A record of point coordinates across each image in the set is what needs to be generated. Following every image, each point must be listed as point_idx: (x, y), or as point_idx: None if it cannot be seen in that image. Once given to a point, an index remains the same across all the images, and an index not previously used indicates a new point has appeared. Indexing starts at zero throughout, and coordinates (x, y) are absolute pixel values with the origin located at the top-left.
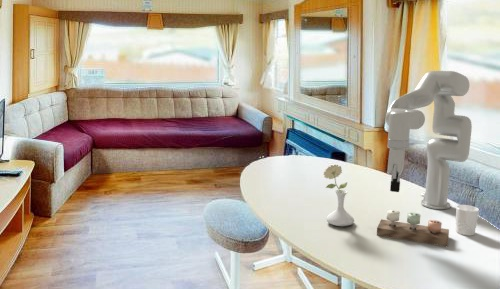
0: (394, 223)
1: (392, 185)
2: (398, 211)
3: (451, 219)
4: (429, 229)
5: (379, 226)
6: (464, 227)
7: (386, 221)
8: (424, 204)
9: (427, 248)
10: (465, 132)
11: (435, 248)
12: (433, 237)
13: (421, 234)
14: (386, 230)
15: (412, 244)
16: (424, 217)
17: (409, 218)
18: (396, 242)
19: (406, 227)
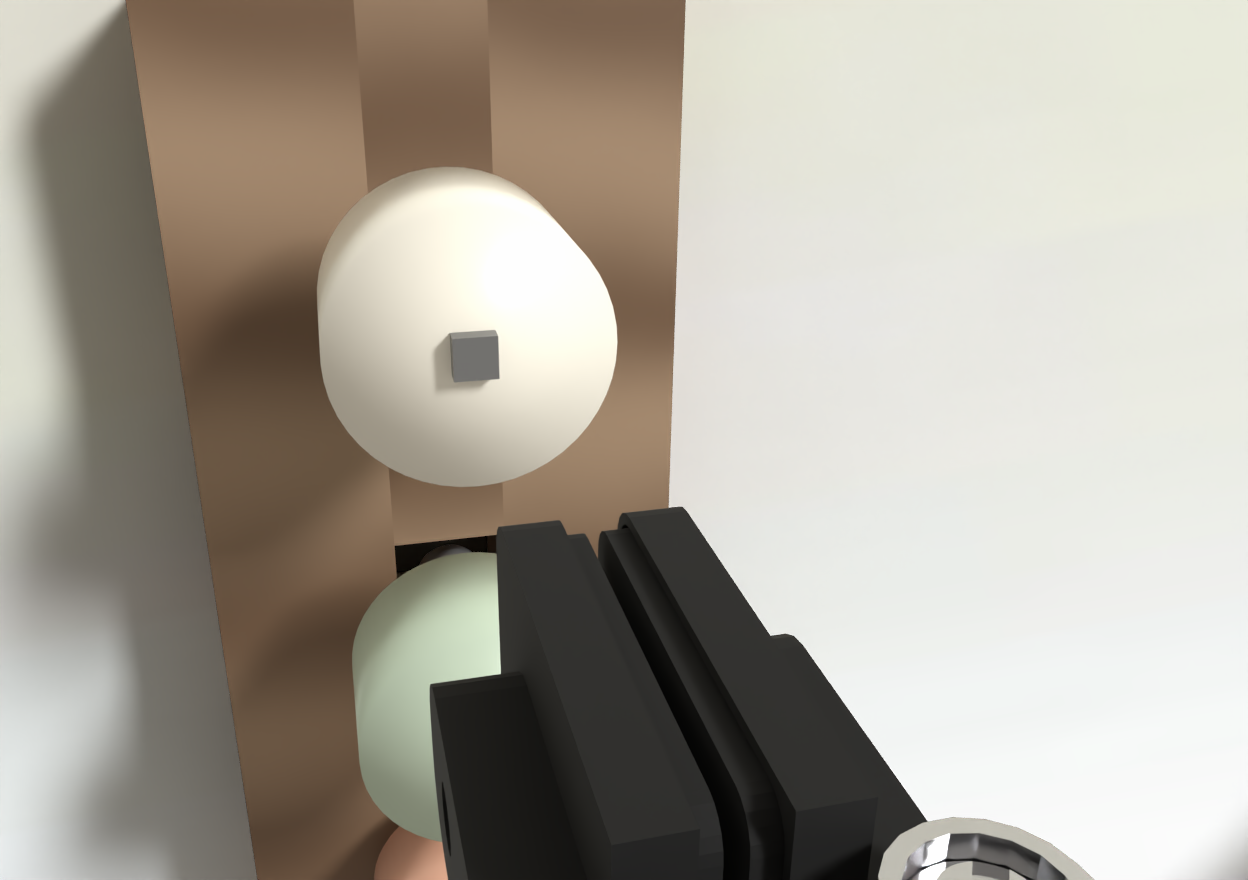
0: None
1: (558, 752)
2: (550, 449)
3: (1213, 785)
4: (397, 842)
5: (231, 25)
6: None
7: (604, 114)
8: None
9: (60, 777)
10: None
11: (129, 849)
12: (259, 871)
13: (246, 742)
14: (157, 187)
15: (84, 591)
16: (1224, 523)
17: (377, 659)
18: (6, 371)
19: (454, 493)
